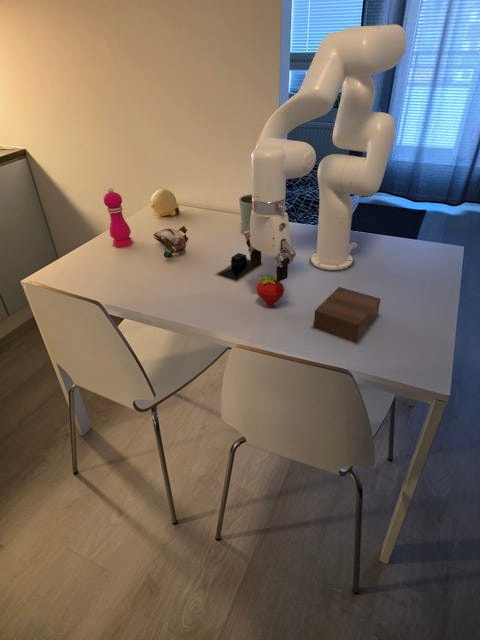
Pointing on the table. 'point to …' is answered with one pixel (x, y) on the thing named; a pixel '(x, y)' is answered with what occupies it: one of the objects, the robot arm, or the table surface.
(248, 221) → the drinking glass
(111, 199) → the pepper mill
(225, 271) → the build plate
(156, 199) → the beige rounded lump
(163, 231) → the decorative duck model
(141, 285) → the table surface
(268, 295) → the strawberry
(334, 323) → the walnut block
